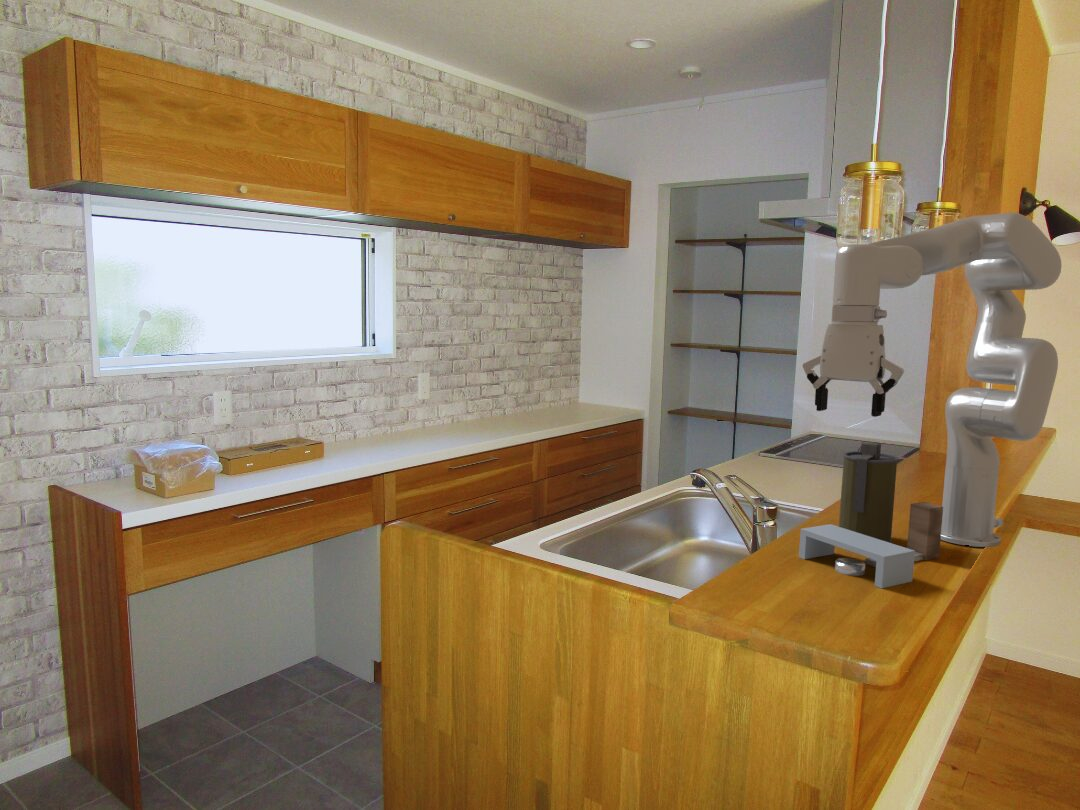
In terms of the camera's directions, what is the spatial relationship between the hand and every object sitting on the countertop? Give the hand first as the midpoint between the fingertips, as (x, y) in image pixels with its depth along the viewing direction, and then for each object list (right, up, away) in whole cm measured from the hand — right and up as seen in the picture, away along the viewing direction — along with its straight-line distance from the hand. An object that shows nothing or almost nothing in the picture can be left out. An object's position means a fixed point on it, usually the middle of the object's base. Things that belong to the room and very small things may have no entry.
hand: (848, 413), depth 134 cm
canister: (+12, -26, +21) cm, 36 cm away
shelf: (+2, -28, +2) cm, 28 cm away
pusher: (+13, -28, +8) cm, 32 cm away
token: (+1, -29, +1) cm, 29 cm away
